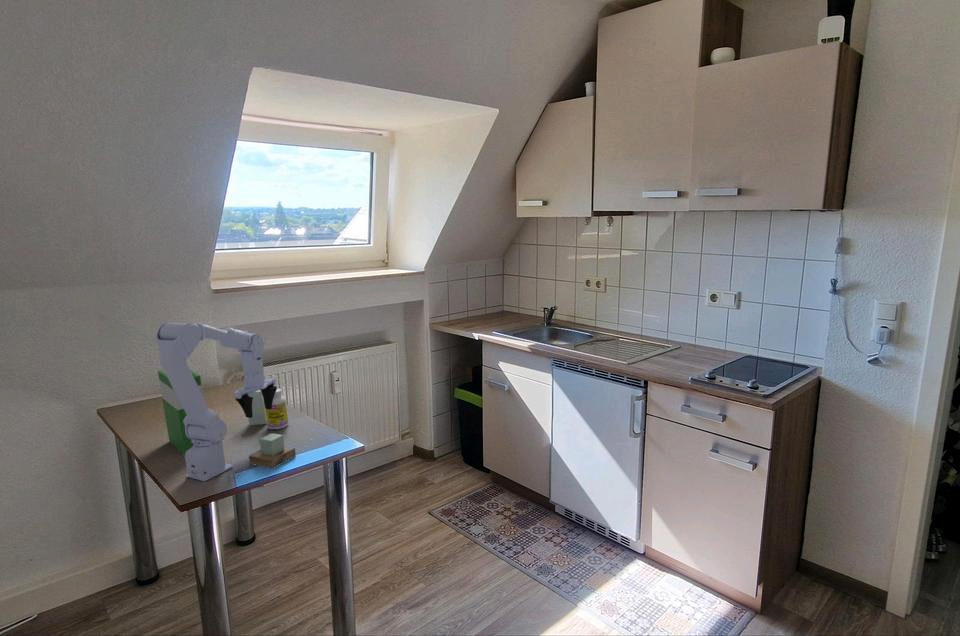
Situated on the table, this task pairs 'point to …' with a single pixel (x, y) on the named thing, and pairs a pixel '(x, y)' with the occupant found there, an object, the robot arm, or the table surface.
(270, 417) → the supplement bottle
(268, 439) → the sage cube
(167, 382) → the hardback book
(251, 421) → the skincare box
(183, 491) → the table surface
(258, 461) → the walnut block
